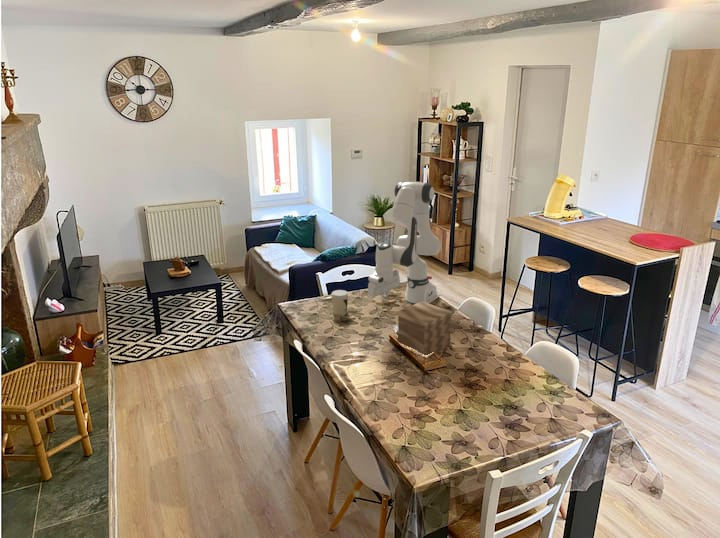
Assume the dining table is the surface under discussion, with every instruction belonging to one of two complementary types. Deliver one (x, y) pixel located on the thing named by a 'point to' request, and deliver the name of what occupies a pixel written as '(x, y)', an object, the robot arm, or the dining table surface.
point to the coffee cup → (339, 302)
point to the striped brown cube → (424, 327)
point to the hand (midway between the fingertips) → (384, 299)
